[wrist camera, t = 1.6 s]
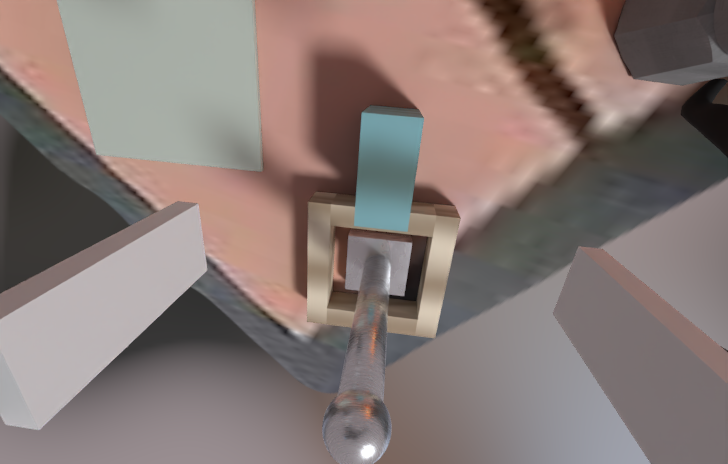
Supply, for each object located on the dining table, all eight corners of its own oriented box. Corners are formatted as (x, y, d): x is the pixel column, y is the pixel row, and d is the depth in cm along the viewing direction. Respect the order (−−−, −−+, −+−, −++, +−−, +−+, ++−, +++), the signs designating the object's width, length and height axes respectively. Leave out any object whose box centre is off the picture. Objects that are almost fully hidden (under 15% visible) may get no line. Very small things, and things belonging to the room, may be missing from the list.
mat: (29, -130, 24) (22, -134, 23) (248, -119, 23) (245, -123, 22) (100, 153, 32) (96, 154, 32) (263, 170, 31) (261, 171, 31)
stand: (350, 229, 33) (289, 409, 15) (411, 236, 32) (425, 429, 14) (347, 280, 35) (291, 488, 17) (404, 287, 35) (407, 507, 17)
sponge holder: (317, 100, 28) (293, 106, 22) (473, 114, 27) (495, 124, 21) (314, 304, 37) (296, 350, 31) (432, 318, 36) (438, 369, 30)
